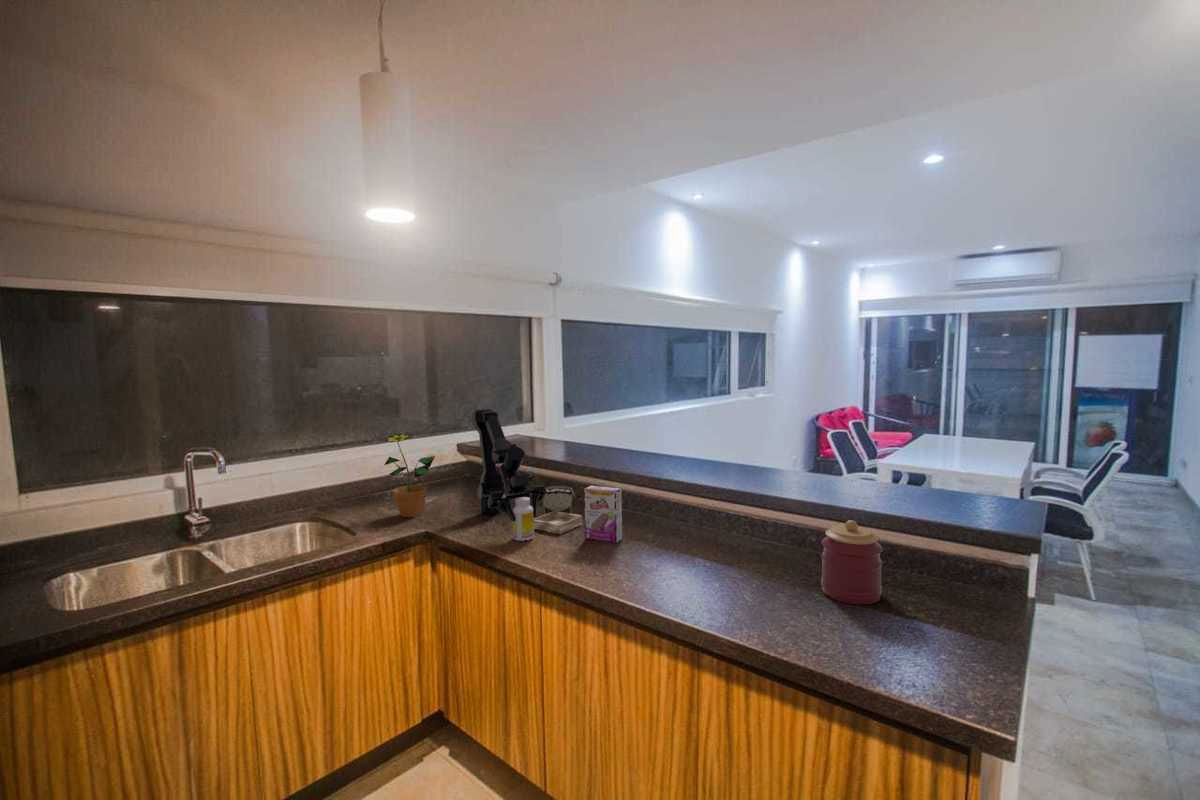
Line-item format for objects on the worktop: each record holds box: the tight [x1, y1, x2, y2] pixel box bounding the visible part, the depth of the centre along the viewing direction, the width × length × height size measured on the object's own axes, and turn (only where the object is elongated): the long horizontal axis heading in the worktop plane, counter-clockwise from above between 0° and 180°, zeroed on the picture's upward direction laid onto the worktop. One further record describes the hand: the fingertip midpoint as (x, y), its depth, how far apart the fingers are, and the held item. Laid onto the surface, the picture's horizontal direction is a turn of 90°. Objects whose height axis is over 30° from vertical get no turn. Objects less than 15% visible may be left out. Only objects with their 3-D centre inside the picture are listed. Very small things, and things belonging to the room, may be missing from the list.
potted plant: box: [384, 433, 436, 519], centre depth 199 cm, size 18×19×30 cm
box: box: [534, 511, 584, 535], centre depth 183 cm, size 12×12×3 cm
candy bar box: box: [583, 485, 623, 544], centre depth 168 cm, size 11×5×16 cm, turn 65°
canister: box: [820, 519, 883, 605], centre depth 126 cm, size 13×13×18 cm
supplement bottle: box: [512, 497, 535, 542], centre depth 171 cm, size 7×7×13 cm
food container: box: [542, 485, 575, 515], centre depth 196 cm, size 12×6×10 cm, turn 84°
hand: (524, 519), depth 169 cm, fingers closed on supplement bottle, 6 cm apart
